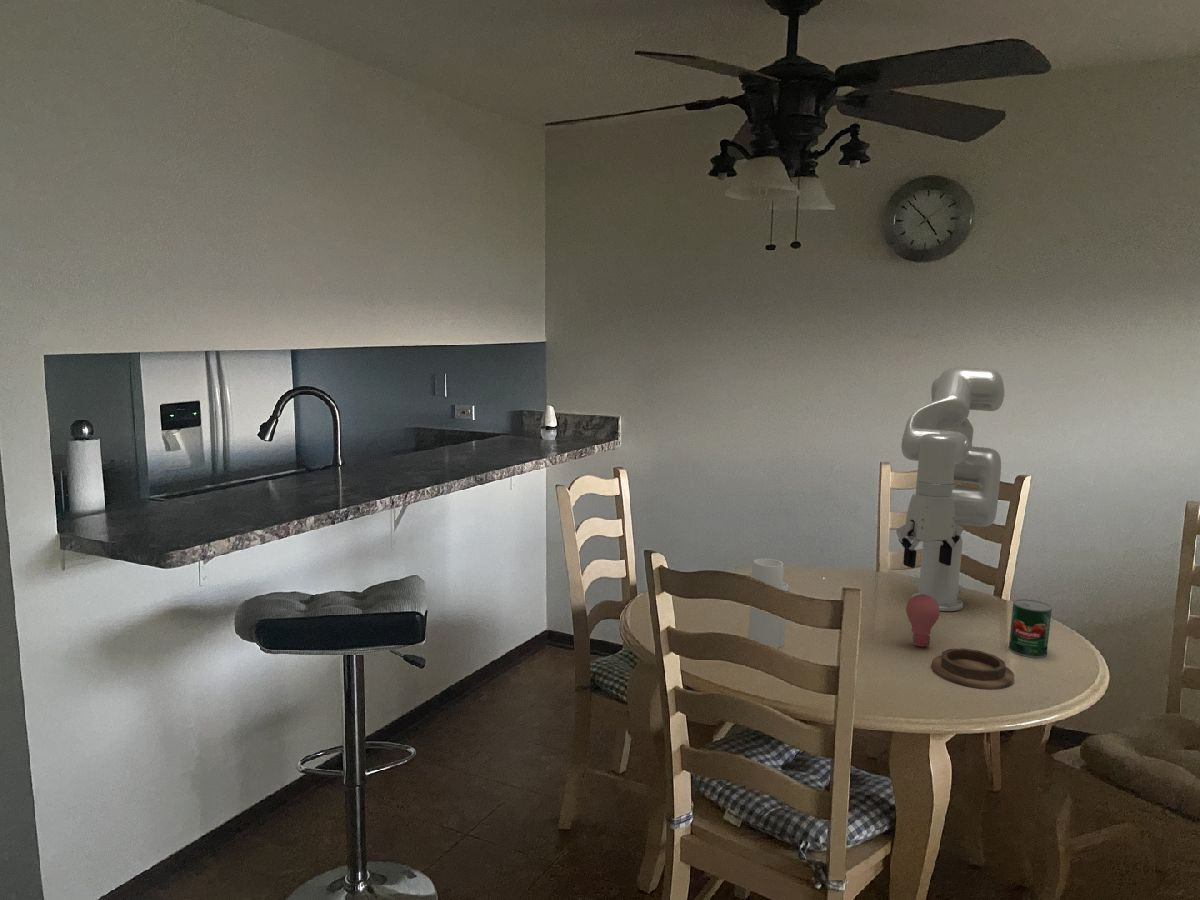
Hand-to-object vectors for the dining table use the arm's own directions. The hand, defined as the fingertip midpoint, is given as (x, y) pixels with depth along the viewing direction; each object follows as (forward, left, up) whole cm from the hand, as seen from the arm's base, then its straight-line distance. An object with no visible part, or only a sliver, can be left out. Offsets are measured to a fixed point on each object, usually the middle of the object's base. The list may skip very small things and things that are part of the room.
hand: (926, 565), depth 195 cm
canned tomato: (-18, +16, -19) cm, 31 cm away
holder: (+5, +15, -19) cm, 25 cm away
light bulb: (0, 0, -19) cm, 19 cm away
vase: (+30, -20, -19) cm, 41 cm away
